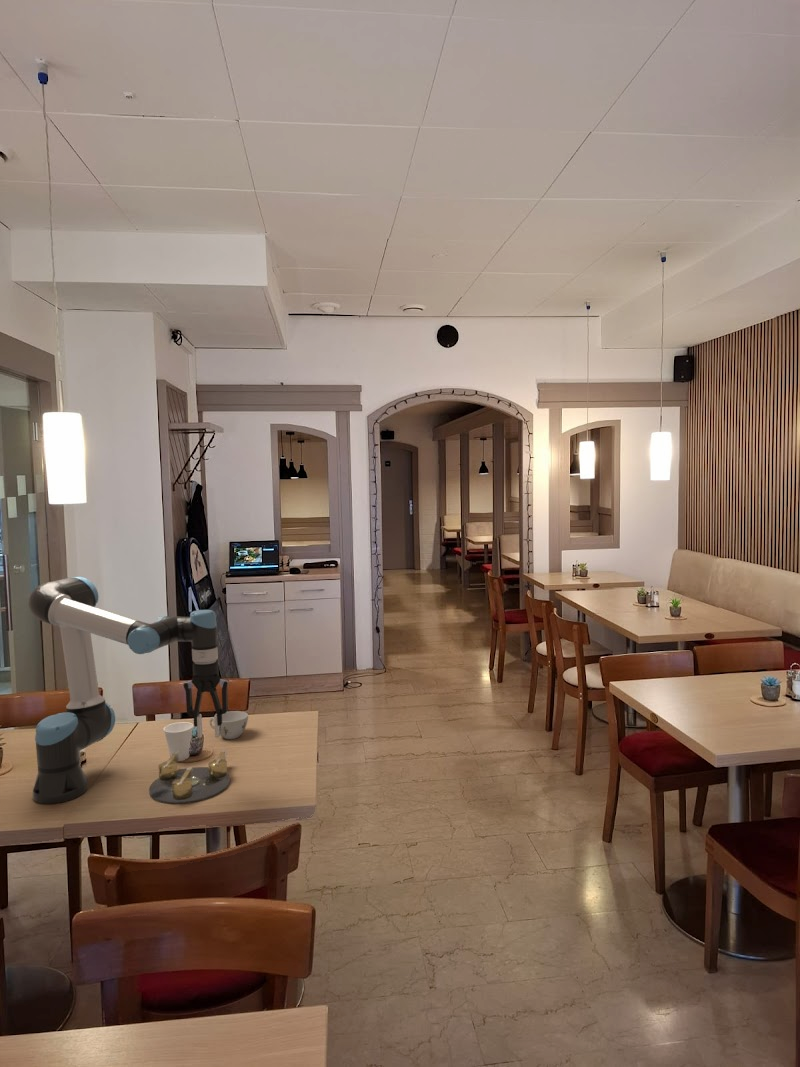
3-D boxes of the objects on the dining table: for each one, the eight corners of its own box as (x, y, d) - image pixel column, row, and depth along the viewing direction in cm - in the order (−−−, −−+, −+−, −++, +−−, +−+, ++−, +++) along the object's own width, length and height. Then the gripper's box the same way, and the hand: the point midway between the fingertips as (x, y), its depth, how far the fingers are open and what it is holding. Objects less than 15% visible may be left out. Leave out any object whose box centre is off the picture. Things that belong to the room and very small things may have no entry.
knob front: (189, 798, 208) (189, 784, 208) (170, 799, 208) (169, 785, 207) (199, 780, 221) (199, 766, 220) (181, 781, 221) (180, 767, 220)
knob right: (225, 778, 222) (224, 764, 222) (207, 778, 222) (206, 765, 221) (232, 761, 235) (232, 749, 234) (215, 762, 234) (215, 749, 234)
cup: (186, 764, 236) (184, 732, 236) (159, 763, 238) (157, 731, 238) (200, 753, 246) (198, 722, 245) (174, 751, 248) (172, 721, 247)
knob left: (175, 780, 221) (174, 766, 221) (156, 781, 221) (156, 767, 221) (185, 763, 234) (184, 750, 234) (168, 764, 234) (167, 751, 233)
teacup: (254, 731, 266) (254, 711, 265) (239, 744, 254) (238, 722, 253) (218, 729, 270) (217, 708, 269) (201, 741, 258) (200, 719, 257)
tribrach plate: (138, 805, 207) (138, 797, 207) (162, 771, 231) (161, 764, 231) (221, 801, 208) (220, 794, 208) (235, 768, 232) (235, 761, 232)
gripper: (172, 665, 210) (176, 741, 212) (232, 663, 211) (235, 739, 213) (179, 659, 218) (182, 732, 220) (236, 657, 219) (239, 730, 221)
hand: (208, 735), depth 216 cm, fingers open, 4 cm apart
